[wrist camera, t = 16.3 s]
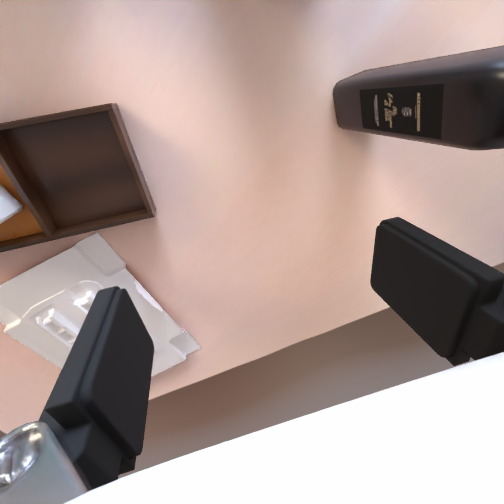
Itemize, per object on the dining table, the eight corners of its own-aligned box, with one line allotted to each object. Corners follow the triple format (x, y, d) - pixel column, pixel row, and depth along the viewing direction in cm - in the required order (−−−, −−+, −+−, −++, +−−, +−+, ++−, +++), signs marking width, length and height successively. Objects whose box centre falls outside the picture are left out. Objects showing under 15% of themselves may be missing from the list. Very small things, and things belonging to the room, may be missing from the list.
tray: (108, 394, 51) (103, 414, 47) (-29, 295, 37) (-50, 313, 34) (202, 347, 50) (203, 363, 47) (99, 228, 36) (90, 239, 33)
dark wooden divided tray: (-136, 149, 26) (-167, 153, 24) (116, 103, 29) (110, 103, 27) (-43, 255, 33) (-60, 266, 31) (156, 209, 36) (154, 216, 33)
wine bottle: (336, 131, 36) (711, 201, 10) (330, 84, 33) (833, 22, 7) (375, 115, 36) (838, 146, 10) (371, 67, 33) (1011, -54, 7)
